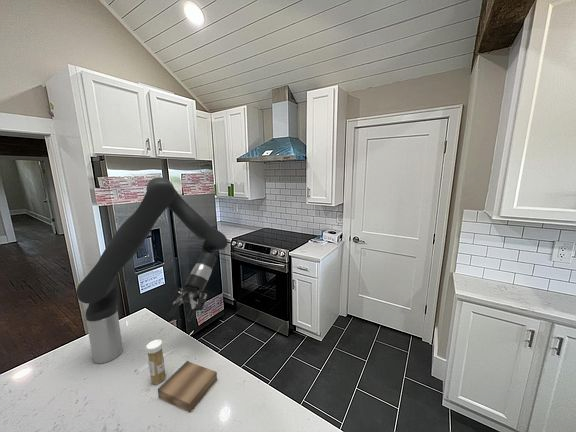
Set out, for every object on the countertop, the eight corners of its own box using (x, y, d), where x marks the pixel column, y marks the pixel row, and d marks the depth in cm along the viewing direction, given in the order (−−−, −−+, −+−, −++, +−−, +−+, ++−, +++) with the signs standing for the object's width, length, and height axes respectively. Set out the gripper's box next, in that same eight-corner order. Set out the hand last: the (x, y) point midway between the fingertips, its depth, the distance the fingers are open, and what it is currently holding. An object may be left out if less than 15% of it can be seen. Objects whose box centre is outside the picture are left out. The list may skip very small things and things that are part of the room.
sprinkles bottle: (166, 380, 78) (162, 344, 76) (151, 387, 76) (146, 350, 74) (165, 371, 82) (161, 337, 80) (150, 377, 80) (145, 342, 78)
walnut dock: (158, 397, 72) (157, 388, 72) (188, 368, 83) (187, 360, 83) (190, 412, 68) (189, 403, 67) (217, 379, 79) (216, 371, 78)
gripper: (180, 271, 95) (158, 311, 86) (208, 276, 90) (188, 319, 81) (191, 278, 101) (171, 316, 92) (218, 283, 95) (200, 324, 87)
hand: (179, 318), depth 86 cm, fingers open, 8 cm apart
